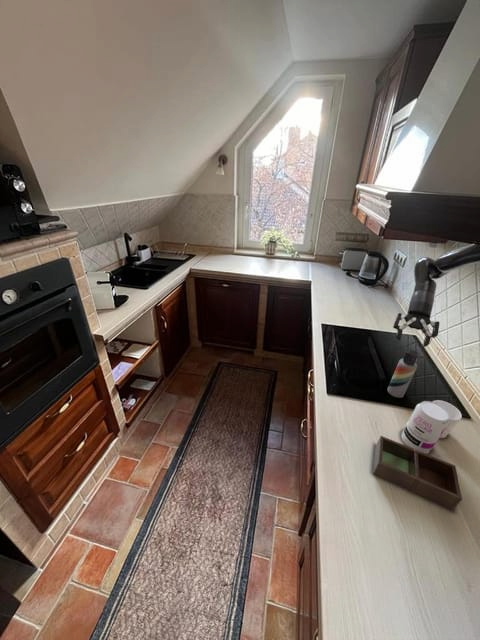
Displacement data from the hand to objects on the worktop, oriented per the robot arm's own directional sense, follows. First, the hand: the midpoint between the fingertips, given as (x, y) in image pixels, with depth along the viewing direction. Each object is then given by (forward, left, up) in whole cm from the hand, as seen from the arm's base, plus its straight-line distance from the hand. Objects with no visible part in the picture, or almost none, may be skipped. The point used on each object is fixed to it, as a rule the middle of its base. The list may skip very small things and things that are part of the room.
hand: (411, 342), depth 96 cm
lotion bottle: (0, +9, -19) cm, 21 cm away
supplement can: (-6, +30, -19) cm, 36 cm away
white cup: (-12, +21, -19) cm, 31 cm away
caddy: (-4, +43, -19) cm, 47 cm away
